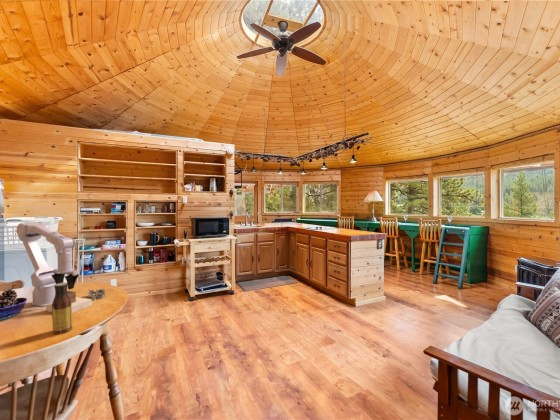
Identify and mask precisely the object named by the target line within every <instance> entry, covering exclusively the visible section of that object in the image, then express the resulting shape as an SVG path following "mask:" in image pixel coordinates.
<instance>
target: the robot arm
mask: <svg viewBox="0 0 560 420" xmlns="http://www.w3.org/2000/svg"><path fill="white" fill-rule="evenodd" d="M15 232H16V234H17V236H18V239H19V240H20V242H22V244H23V246H24V248H25V250H26V253H27V255H28V258H29V260H30V262H31V265H32V267H33V269H34V272H33V273H31V275H30V279H31V284H32V287H34V288H33V290H32V293H31V295H32V303H30V305H31V306H37V307H46V305H48V304H51V303H53V300H54V298H55V288H54V287H55V285H56V284H59V283H64V280H66V283H67V290H73V289H74V288H75V284H76V281H77V279H78V278H79V276H80V274H79V271H78V270H75V269H73V248H74V247H75V245H76V241H75V239H74V238H73V237H71V236H69V237H67V236H65V235H63V234H60V232H58V231H52V230H50V229H49V228H47V227H46V224H45V223H43V222H42V221H39V222H23V223H22V222H21V223H19V224H17V226H16V229H15ZM42 237H44V238H45V240H46V241H47V242H48V243H50V244H52V245H53V247H54V249H55V253H56V254H57V268H53V267H50V266H48V264H47V261H46V259H45V256H44V255H43V252H42V249H41V247H40V245H39V243H38V240H39V239H41V238H42Z"/></svg>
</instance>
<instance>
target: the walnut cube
mask: <svg viewBox="0 0 560 420" xmlns="http://www.w3.org/2000/svg"><path fill="white" fill-rule="evenodd" d="M67 294H68V295H69V296H70V298H71V303H74V302H76V297H77V293H76V291H74V290H73V291H72V290H67Z"/></svg>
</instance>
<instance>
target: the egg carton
mask: <svg viewBox="0 0 560 420" xmlns="http://www.w3.org/2000/svg"><path fill="white" fill-rule="evenodd" d="M100 293H101V294H100ZM93 294H95V295H93ZM103 297H105V298H106V290H105V288H102V289H101V288H100V289H96V290H93V289H88V299H92V301H96V300H98V299H97V298H103ZM95 299H96V300H95ZM103 299H104V298H103Z"/></svg>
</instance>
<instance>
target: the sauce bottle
mask: <svg viewBox="0 0 560 420" xmlns="http://www.w3.org/2000/svg"><path fill="white" fill-rule="evenodd" d="M54 288H55V298H54V300H53V303H52V312H51V316H52V317H51V321H52V331H53V334H57V335H60V334H61V335H62V334H65V333H67V332H69V331H71V330H72V328H73V313H72V304H71V298H70V296H69V295H68V294H67V291H68V285H67V282H63V283H59V284H56V285H55V287H54Z"/></svg>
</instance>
